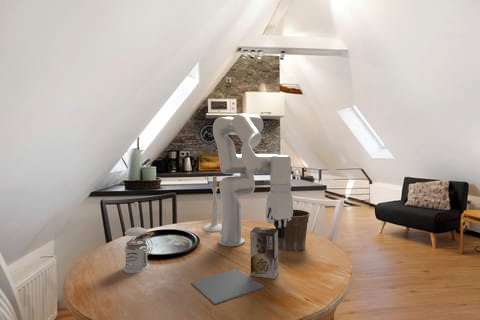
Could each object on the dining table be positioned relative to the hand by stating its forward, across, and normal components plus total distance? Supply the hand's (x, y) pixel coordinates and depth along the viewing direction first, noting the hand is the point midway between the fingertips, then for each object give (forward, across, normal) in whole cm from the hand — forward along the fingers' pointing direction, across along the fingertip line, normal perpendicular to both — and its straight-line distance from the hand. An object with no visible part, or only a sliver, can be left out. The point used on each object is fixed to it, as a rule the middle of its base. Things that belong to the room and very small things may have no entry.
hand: (279, 237), depth 109 cm
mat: (+12, +23, 0) cm, 26 cm away
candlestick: (+12, -7, -61) cm, 63 cm away
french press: (+12, +43, -31) cm, 55 cm away
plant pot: (+12, -21, -15) cm, 28 cm away
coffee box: (+12, +7, 0) cm, 14 cm away
